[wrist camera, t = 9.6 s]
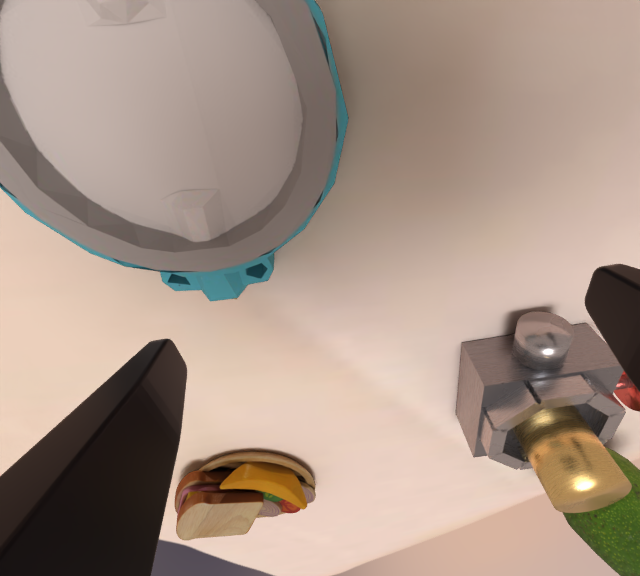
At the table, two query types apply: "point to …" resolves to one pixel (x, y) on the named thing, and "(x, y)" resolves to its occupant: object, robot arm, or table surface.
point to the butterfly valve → (171, 130)
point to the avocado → (614, 525)
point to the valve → (538, 384)
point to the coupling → (571, 461)
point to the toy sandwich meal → (240, 493)
